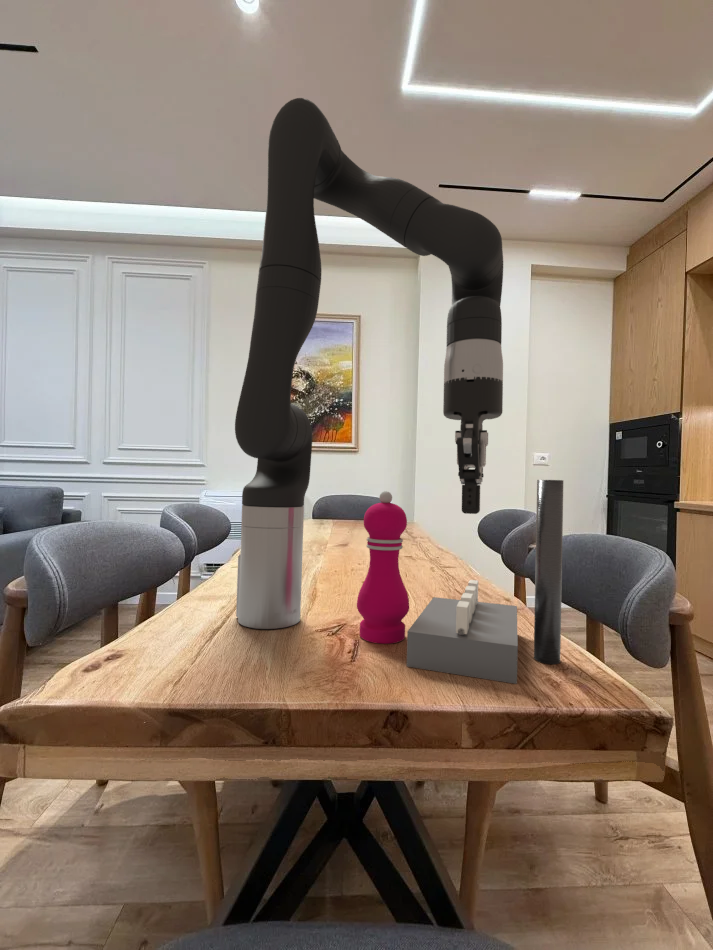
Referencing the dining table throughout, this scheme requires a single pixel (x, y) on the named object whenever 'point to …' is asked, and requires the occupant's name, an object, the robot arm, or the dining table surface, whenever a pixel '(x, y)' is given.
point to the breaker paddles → (466, 607)
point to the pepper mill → (383, 575)
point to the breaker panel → (465, 641)
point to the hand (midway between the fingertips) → (470, 513)
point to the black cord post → (548, 571)
